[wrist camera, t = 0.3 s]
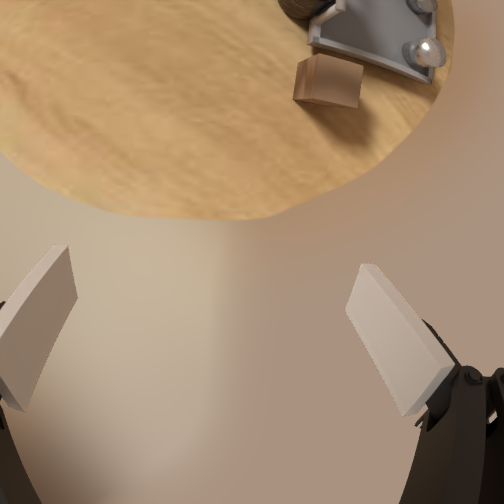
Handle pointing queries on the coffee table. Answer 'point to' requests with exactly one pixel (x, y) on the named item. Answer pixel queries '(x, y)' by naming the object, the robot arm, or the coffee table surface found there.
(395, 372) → the robot arm
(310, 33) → the grey tray with handle
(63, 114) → the coffee table surface
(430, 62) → the silver rounded piece
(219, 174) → the coffee table surface
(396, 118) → the coffee table surface
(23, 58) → the coffee table surface
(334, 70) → the walnut block
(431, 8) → the silver metal dome
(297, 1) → the supplement bottle
